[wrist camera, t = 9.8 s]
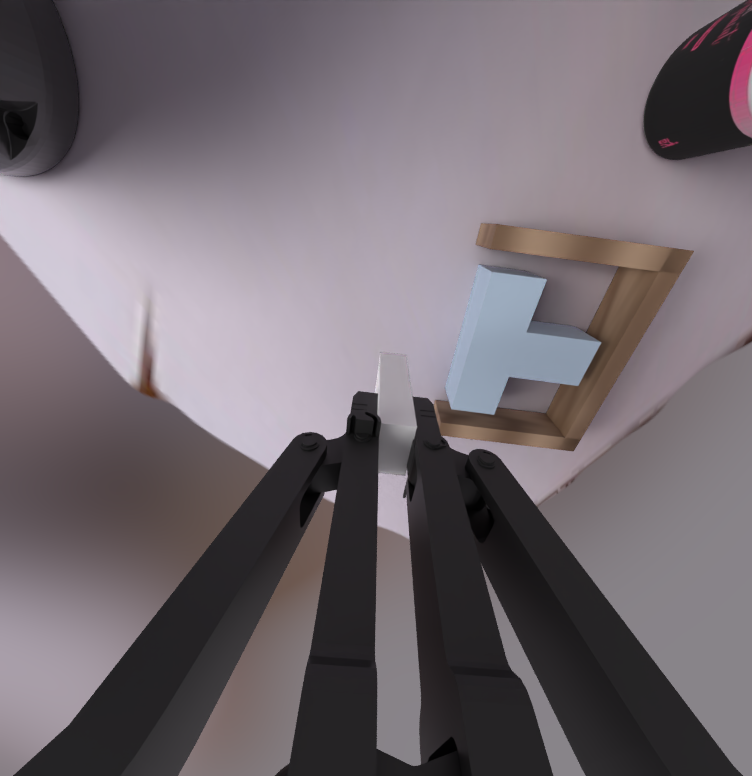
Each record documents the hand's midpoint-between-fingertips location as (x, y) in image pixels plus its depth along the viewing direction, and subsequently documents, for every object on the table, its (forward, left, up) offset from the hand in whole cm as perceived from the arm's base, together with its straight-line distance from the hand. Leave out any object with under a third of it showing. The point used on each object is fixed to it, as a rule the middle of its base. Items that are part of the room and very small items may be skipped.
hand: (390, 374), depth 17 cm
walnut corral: (+13, -1, -11) cm, 17 cm away
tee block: (+12, -1, -11) cm, 16 cm away
